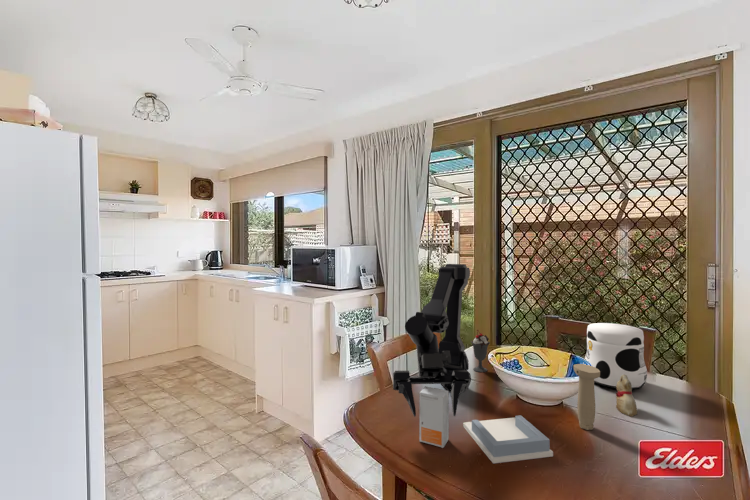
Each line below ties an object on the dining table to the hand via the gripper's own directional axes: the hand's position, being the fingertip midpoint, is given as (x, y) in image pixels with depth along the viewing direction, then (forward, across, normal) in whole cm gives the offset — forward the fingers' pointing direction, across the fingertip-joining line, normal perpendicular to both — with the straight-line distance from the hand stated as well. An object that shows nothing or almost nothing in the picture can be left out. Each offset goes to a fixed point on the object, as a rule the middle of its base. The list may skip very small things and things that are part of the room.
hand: (434, 415), depth 88 cm
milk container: (-20, +63, +30) cm, 73 cm away
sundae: (-30, +24, +39) cm, 54 cm away
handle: (0, +39, +10) cm, 40 cm away
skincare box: (+4, 0, +6) cm, 7 cm away
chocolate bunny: (-7, +55, +17) cm, 58 cm away
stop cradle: (+4, +17, +6) cm, 18 cm away
